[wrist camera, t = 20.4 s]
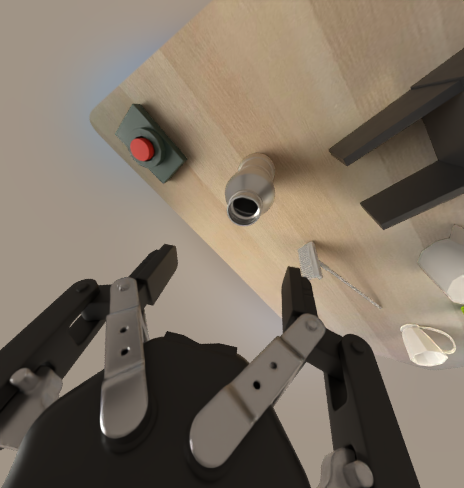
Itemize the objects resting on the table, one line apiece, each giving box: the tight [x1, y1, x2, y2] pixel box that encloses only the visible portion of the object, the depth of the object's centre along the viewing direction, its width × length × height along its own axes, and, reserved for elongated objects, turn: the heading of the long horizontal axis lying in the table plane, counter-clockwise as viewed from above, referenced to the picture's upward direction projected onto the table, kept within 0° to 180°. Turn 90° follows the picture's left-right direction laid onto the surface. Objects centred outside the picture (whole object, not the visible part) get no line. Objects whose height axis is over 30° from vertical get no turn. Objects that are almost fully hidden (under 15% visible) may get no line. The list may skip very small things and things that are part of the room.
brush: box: [298, 241, 382, 309], centre depth 46 cm, size 4×28×9 cm, turn 50°
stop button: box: [130, 138, 154, 161], centre depth 35 cm, size 4×4×2 cm
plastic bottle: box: [225, 153, 275, 226], centre depth 29 cm, size 6×7×20 cm
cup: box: [400, 323, 456, 366], centre depth 48 cm, size 7×10×8 cm
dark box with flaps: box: [329, 48, 464, 230], centre depth 24 cm, size 19×14×17 cm
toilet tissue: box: [417, 224, 464, 304], centre depth 35 cm, size 9×13×9 cm
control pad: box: [115, 104, 188, 184], centre depth 37 cm, size 12×7×4 cm, turn 42°
